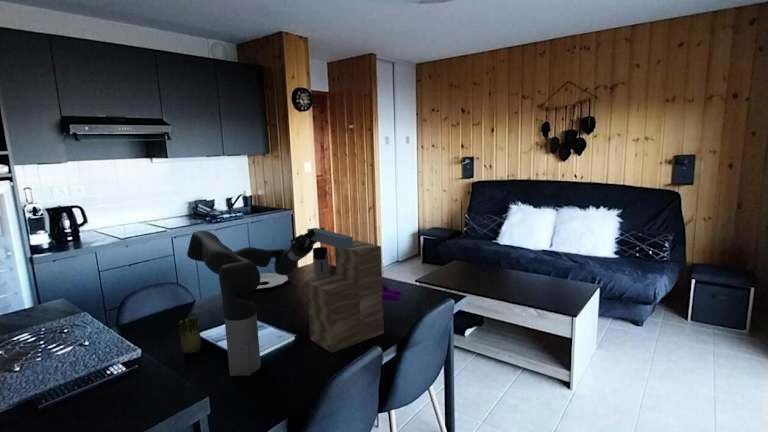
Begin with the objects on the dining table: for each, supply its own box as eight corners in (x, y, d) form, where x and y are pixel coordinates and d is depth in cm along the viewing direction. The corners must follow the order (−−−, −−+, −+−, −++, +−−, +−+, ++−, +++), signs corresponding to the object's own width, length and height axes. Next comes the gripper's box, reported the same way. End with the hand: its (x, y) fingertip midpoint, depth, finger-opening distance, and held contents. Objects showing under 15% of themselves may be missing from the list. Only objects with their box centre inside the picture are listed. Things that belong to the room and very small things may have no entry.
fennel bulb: (181, 356, 140) (177, 321, 138) (184, 349, 145) (180, 316, 143) (200, 353, 142) (197, 319, 140) (202, 347, 146) (199, 314, 144)
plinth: (383, 333, 153) (380, 246, 148) (331, 352, 139) (326, 257, 134) (360, 321, 163) (357, 240, 158) (310, 339, 150) (304, 250, 145)
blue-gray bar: (353, 247, 136) (352, 237, 135) (343, 249, 134) (343, 238, 133) (316, 237, 154) (315, 227, 153) (307, 238, 151) (307, 229, 151)
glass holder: (324, 272, 232) (322, 245, 229) (338, 278, 221) (337, 250, 219) (310, 276, 226) (308, 248, 224) (324, 281, 215) (322, 253, 213)
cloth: (356, 304, 184) (355, 291, 183) (363, 290, 202) (363, 278, 201) (407, 305, 181) (407, 291, 180) (410, 291, 199) (410, 278, 198)
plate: (237, 280, 224) (237, 276, 224) (286, 274, 232) (286, 271, 231) (236, 294, 201) (236, 290, 200) (290, 288, 208) (290, 284, 208)
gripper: (318, 253, 164) (339, 237, 152) (285, 260, 156) (303, 244, 143) (312, 236, 166) (332, 218, 153) (279, 241, 157) (297, 223, 145)
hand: (318, 231), depth 148 cm, fingers closed on blue-gray bar, 3 cm apart
